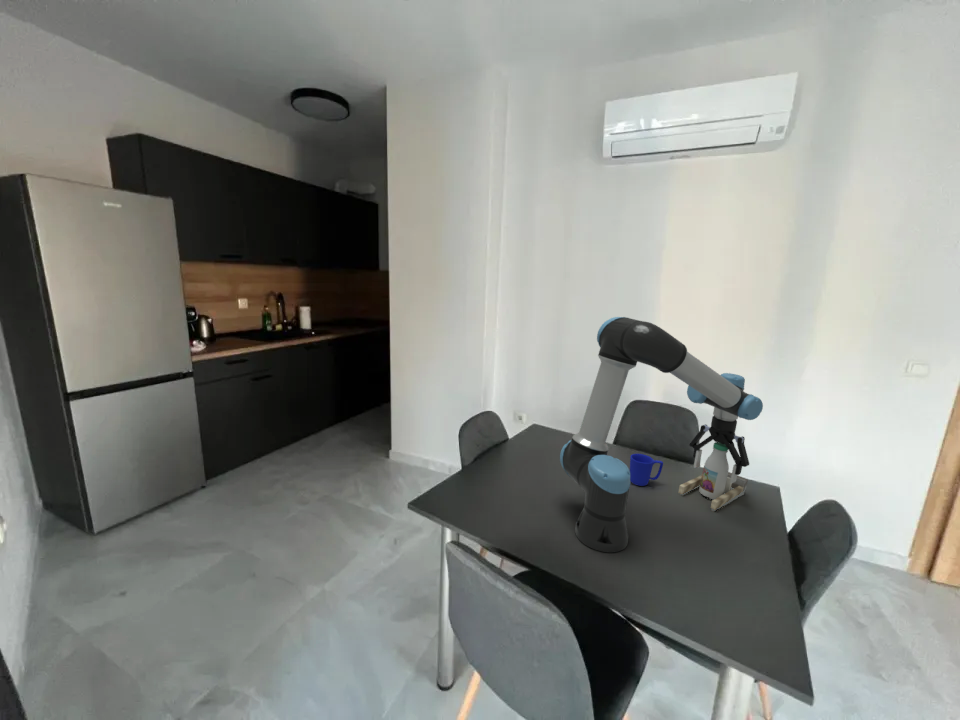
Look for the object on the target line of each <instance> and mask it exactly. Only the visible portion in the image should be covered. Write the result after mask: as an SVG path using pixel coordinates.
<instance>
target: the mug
mask: <svg viewBox="0 0 960 720" xmlns="http://www.w3.org/2000/svg"><path fill="white" fill-rule="evenodd" d="M629 458H630V460H629V470H630V483H632V484H633V485H636V486H641V487H644V486H645V487H646V486H647V485H648V484H649V481H650V480H652V481H655V480H658V479H659V478H660V475H661V473H662V470H663V466H664V462H663V461H662V460H656V459H655V460H654V458H652V457H651V456H649V455H646V454H643V453H633V454H631V455H630V457H629ZM655 464H659V468H658V472H657V473H656V475H655V476H654V477H651V474H652V471H653V467H654V465H655Z"/></svg>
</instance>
